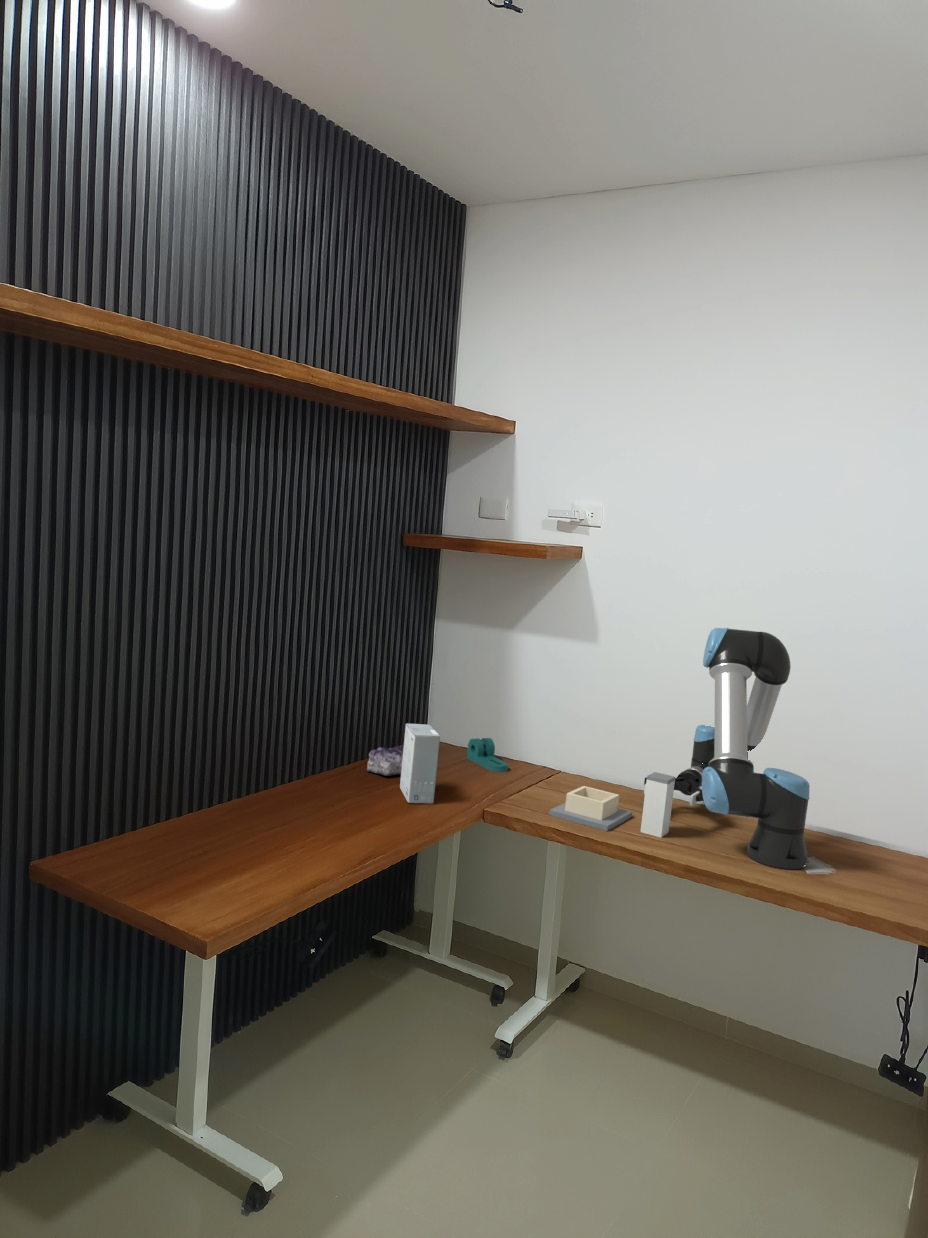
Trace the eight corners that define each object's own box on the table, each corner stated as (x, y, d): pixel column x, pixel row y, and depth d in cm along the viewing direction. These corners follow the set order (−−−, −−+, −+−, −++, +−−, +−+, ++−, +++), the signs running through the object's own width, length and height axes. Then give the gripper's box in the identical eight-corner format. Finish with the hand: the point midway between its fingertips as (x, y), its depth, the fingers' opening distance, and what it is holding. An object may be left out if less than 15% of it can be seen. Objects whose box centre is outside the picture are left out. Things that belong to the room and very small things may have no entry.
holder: (631, 817, 262) (634, 795, 262) (607, 831, 247) (609, 808, 246) (576, 802, 272) (578, 781, 271) (548, 815, 257) (551, 793, 256)
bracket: (466, 758, 312) (468, 736, 311) (483, 757, 315) (485, 735, 314) (494, 773, 296) (496, 750, 295) (511, 772, 300) (513, 749, 299)
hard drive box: (434, 804, 256) (440, 736, 254) (407, 804, 254) (414, 735, 252) (423, 788, 271) (429, 723, 269) (398, 787, 269) (404, 722, 267)
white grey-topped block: (668, 832, 251) (675, 776, 250) (661, 837, 246) (667, 780, 244) (648, 827, 254) (654, 772, 253) (640, 832, 249) (647, 775, 248)
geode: (412, 764, 297) (418, 736, 296) (432, 778, 289) (438, 749, 287) (360, 767, 285) (365, 738, 283) (378, 782, 276) (385, 752, 274)
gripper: (731, 802, 268) (709, 818, 250) (651, 783, 281) (625, 797, 263) (734, 778, 267) (712, 792, 249) (654, 760, 281) (628, 772, 263)
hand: (667, 795), depth 256 cm, fingers open, 13 cm apart
